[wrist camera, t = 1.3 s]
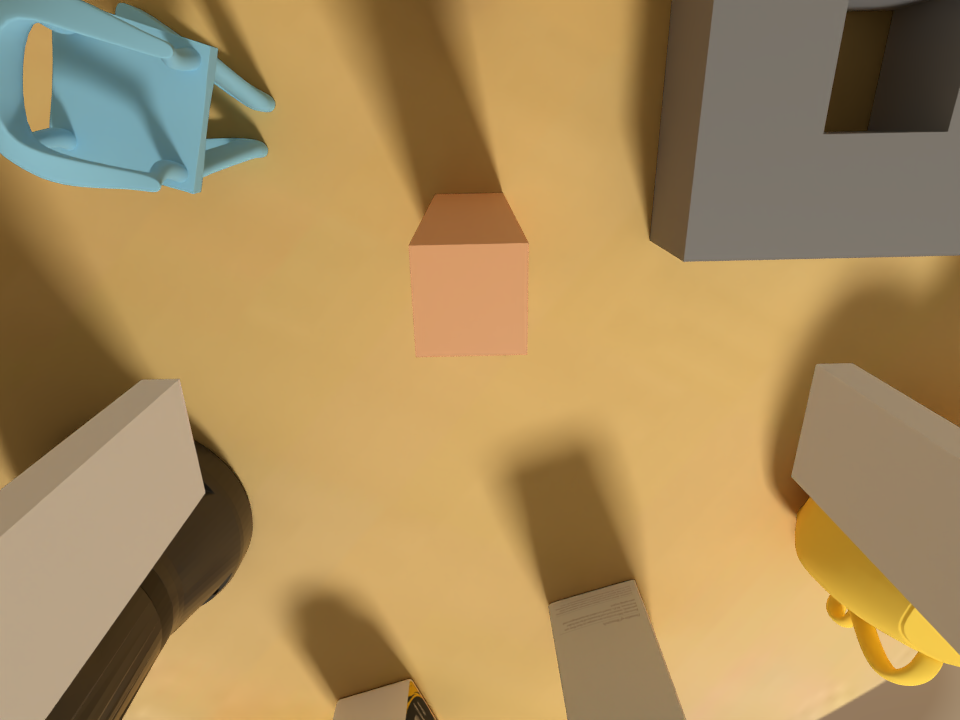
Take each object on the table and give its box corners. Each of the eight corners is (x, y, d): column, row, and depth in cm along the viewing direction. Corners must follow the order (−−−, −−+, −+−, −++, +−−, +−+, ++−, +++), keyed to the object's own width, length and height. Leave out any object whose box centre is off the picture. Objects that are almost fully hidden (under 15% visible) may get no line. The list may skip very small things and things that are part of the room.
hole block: (649, 240, 35) (683, 261, 30) (683, -126, 28) (735, -187, 23) (941, 233, 35) (1029, 253, 30) (1043, -131, 29) (1182, -194, 23)
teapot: (731, 553, 44) (826, 707, 33) (896, 327, 38) (1091, 419, 26) (875, 604, 47) (1012, 766, 35) (1055, 399, 40) (1301, 514, 28)
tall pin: (438, 261, 35) (415, 357, 21) (435, 194, 34) (408, 245, 19) (502, 259, 35) (527, 354, 21) (502, 192, 34) (528, 243, 19)
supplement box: (545, 602, 46) (571, 764, 34) (635, 576, 45) (694, 733, 33) (571, 664, 49) (604, 835, 37) (656, 641, 48) (718, 808, 36)
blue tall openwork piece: (261, 196, 34) (163, 231, 23) (115, 153, 33) (-64, 167, 22) (283, 56, 31) (185, 17, 20) (125, 3, 30) (-74, -69, 19)
